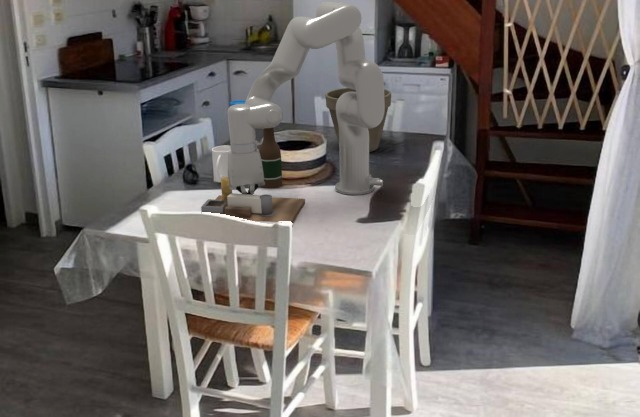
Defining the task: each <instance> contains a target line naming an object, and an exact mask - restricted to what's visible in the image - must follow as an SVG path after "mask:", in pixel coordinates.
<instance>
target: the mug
mask: <svg viewBox="0 0 640 417" xmlns="http://www.w3.org/2000/svg"><path fill="white" fill-rule="evenodd" d="M229 151H231V146H230V145H228V144H227V145H225V144H223V145H218V146H214V147H212V148H211V158H212V170H213V171H212V173H213V183H221V178H223V177H228V152H229Z"/></svg>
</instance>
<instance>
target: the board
mask: <svg viewBox="0 0 640 417" xmlns="http://www.w3.org/2000/svg"><path fill="white" fill-rule="evenodd" d="M214 200H222V194H221V195H220V194H218V196H217V197H216V198H215V199H214ZM305 203H306V199H305V198H295V197H294V198H293V197H273V196H272V207H273V212H272V213H271V214H261V213H252V209H251V207H234V206H226V207H225V214H226V215H230V216H235V217H239V218H243V219H247V220H252V221H251V222H271V223H274V222H275V223H279V222H278V221H291V222H292V223H293V224H294V223H295V222H296V220H297V218H298V216H299V214H300V213H301V211H302V209H303V208H304V206H305Z"/></svg>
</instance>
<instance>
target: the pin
mask: <svg viewBox="0 0 640 417" xmlns="http://www.w3.org/2000/svg"><path fill="white" fill-rule="evenodd" d="M220 188H221V190H220V191H221V195H222V200H227V196H228V195H230V194H231V193H233V190H230V189H229V178H228V177H223V178H221V182H220Z"/></svg>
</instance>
